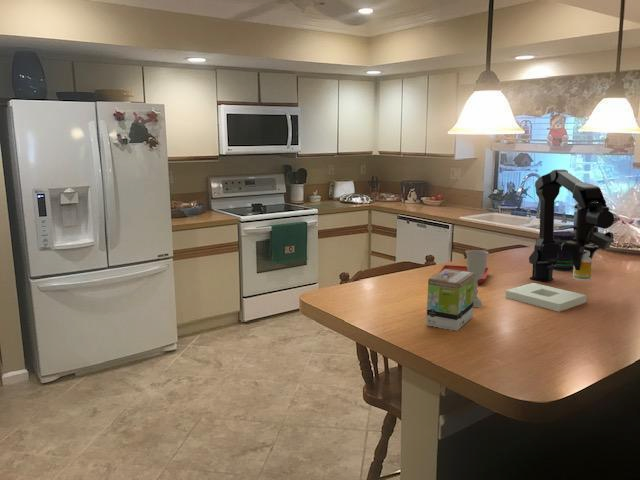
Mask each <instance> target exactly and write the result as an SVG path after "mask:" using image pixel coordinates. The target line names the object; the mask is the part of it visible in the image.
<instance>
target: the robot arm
mask: <svg viewBox="0 0 640 480" xmlns="http://www.w3.org/2000/svg"><path fill="white" fill-rule="evenodd" d="M534 187H535V194H536V195H537V197H538V199H539V201H540V203H539V204H540V205H539V238H538V240H537V241H536V242H535V244H534V247H533V248H534V249H533V251H532V253H531V254H530V256H528V262H529V264H531V265H532V273H531V274H532V276H530V277H529V279H530V280H534V281H539V282H548V281H552V280H554V277H553V271H554V270H553V269H552V264H554V265H556V262H557V259H558V255H559V245H558V243H556V242H555V240H554V239H553V234H554V232H555V231H554V229H555V227H554V226H555V201H556V199H557V197H558V196H559V195H560V191H561V188H562V187H564V188H565V189H566V190H568V191H569V192H570V193H571V194H572V198H573V199H574V201H575V202H576V203H577V204H576V205H574V206H573V208H574V209H576V211H577V212H576V223H575V225H574V226H573V227H572V229H573V230H575V233H576V234H575V238H573V239H572V241H567V242H564V243H563V244H562V245H561V250H563V251H566V252H568V254H569V256H570V258H571V260H572V262H573V264H574V267H575V269H576V270H580V267H581V262H582V257H583V255H584V254H586V253H587V252H586V251H584V250H587V251H590V256H589V257H590V258H591V259H592V260H593V258H594V257H593V256H594V255H595V253H596V252H598V251H599V250H601V249H602V250H606V249H609V248H610V247H611V244H612V243H614V242H615V240H614V233H612V232H611V231H607V232H605V233H604V232H599V228H600V229H608V228H611V226H613V225H614V221H615V217H614V214H613V213H612V212H611V211H610V207H609V206H607V201H606V199H605V197H604V195H603V192H602V189H601V188H600V187H599V186H598V185H596V184H592V183H587V182H583V181H582V180H580V179H579V178H577V177H576V176H575V175H573V174H572V173H569V171H568V169H561V168H560V169H554V170H551V171H550V172H549V173H546V174H543V175H541V176H539V177H538V178H537V180H535V182H534ZM573 241H575V242H573Z"/></svg>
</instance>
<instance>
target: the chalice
mask: <svg viewBox="0 0 640 480" xmlns="http://www.w3.org/2000/svg"><path fill="white" fill-rule="evenodd" d="M465 254H466V266H467V269H468V272H473V273H475V283H474V301H473V308H481V306H482V307H483V306H484V305H483V302H482V299H481V298H480V297H478V292H479V290H478V286H479V284H477V281H478V280H479V279H481V277H482V275H483V273H484V271H485V269H486V267H487V259H488V258H487V257H488V255H489V251H487V250H481V249H470V250H465Z"/></svg>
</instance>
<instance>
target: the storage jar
mask: <svg viewBox="0 0 640 480" xmlns="http://www.w3.org/2000/svg"><path fill="white" fill-rule="evenodd" d="M575 234H576V232H571V231H560V230H559V231H557V230H556V231H554V234H553V239H554V240H555V242H556V243H558V245H559V255H558V259H557V262H556V265H554V264H552V269H553V271H559V272H573V269H574V264H573V262H572V260H571V258H570V256H569V254H568V252H566V251H563V250H561V245H562V244H563V243H564V242H567V241H572V239H573V238H575ZM573 242H575V241H573Z"/></svg>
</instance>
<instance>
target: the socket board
mask: <svg viewBox="0 0 640 480" xmlns="http://www.w3.org/2000/svg"><path fill="white" fill-rule="evenodd" d="M504 297H505V298H506V299H510V300H514V301H517V302H522V303H525V304H529V305H532V306H537V307H538V308H539V307H541V308H543V309H548V310H552V311H555V312H557V313H558V312H559V313H560V312H563V311H566V310H568V309H570V308H571V309H572V308H573V307H577V306H579V305H583V304H586V302H587V294H583V293H579V292H574V291H570V290H566V289H562V288H557V287H552V286H549V285H543V284H540V283H535V282H531V283H527V284H524V285H523V284H522V285H519V286H517V287H513V288H509V289H506V290H505V296H504Z"/></svg>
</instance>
